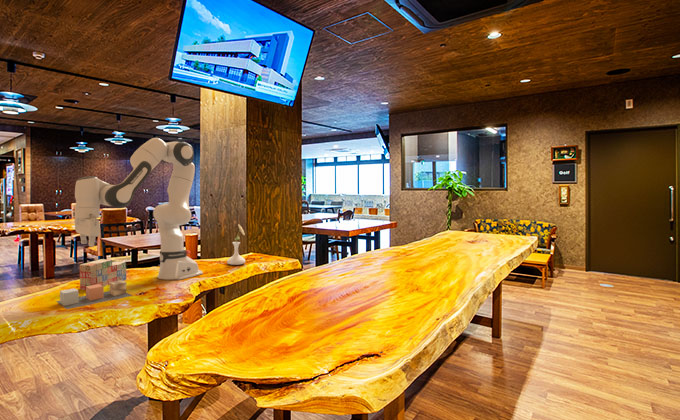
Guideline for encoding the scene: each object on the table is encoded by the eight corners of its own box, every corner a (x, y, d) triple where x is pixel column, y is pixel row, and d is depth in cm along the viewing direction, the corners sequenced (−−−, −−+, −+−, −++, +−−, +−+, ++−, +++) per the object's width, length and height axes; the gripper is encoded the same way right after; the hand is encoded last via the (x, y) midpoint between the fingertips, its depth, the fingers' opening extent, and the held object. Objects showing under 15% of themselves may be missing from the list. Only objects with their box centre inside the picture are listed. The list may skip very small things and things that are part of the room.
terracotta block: (99, 295, 159) (99, 284, 158) (103, 297, 156) (103, 286, 155) (86, 297, 155) (85, 286, 155) (90, 300, 152) (89, 288, 151)
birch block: (122, 290, 166) (121, 280, 165) (126, 293, 163) (126, 282, 162) (109, 293, 162) (109, 282, 162) (114, 295, 159) (113, 284, 158)
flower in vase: (239, 266, 221) (240, 226, 219) (223, 265, 223) (223, 225, 222) (250, 262, 233) (250, 223, 232) (234, 261, 236) (234, 223, 234)
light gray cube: (74, 300, 152) (74, 288, 152) (78, 302, 149) (78, 290, 148) (60, 302, 148) (59, 290, 148) (63, 305, 145) (63, 293, 145)
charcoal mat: (120, 290, 168) (120, 289, 168) (132, 296, 160) (132, 295, 160) (56, 302, 150) (56, 301, 150) (66, 310, 141) (66, 309, 141)
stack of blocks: (116, 278, 188) (115, 255, 187) (126, 279, 187) (126, 256, 186) (79, 290, 167) (79, 264, 166) (91, 291, 166) (90, 265, 165)
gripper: (104, 215, 154) (104, 247, 154) (88, 211, 167) (88, 241, 167) (86, 215, 149) (87, 248, 150) (71, 212, 162) (71, 243, 162)
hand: (87, 245), depth 159 cm, fingers open, 8 cm apart
